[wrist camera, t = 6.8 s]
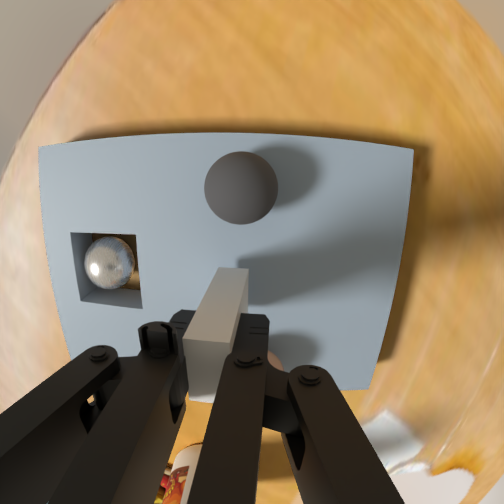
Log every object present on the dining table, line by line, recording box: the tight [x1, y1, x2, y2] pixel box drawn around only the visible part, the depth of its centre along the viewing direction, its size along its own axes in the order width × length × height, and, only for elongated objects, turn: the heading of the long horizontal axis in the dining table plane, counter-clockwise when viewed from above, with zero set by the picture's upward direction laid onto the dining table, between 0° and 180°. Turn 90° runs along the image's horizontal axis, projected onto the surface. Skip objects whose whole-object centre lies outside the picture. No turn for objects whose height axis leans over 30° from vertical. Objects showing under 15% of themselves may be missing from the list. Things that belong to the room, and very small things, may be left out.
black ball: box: [204, 151, 278, 225], centre depth 14 cm, size 3×3×3 cm
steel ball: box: [84, 236, 135, 289], centre depth 18 cm, size 3×3×3 cm
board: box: [39, 133, 414, 390], centre depth 18 cm, size 21×15×2 cm
